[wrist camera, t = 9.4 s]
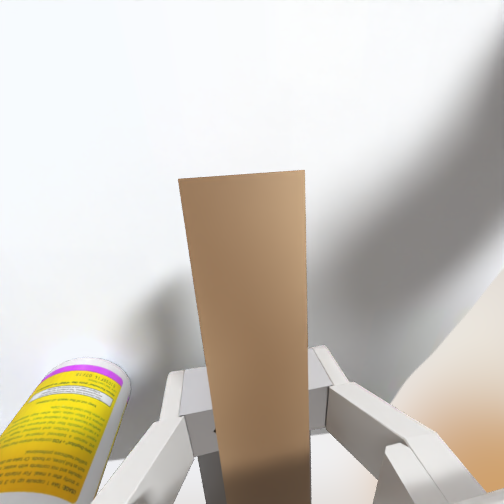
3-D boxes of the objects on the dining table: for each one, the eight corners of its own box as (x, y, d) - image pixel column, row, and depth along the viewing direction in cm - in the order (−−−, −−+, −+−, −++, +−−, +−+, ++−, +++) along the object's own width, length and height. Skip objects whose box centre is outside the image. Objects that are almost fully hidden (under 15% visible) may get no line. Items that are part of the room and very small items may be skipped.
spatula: (297, 176, 9) (366, 165, 5) (305, 487, 13) (345, 614, 9) (154, 187, 8) (100, 184, 4) (211, 512, 12) (211, 660, 8)
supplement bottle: (35, 358, 19) (-264, 698, 7) (125, 348, 20) (-1, 628, 8) (59, 417, 21) (-131, 743, 9) (139, 405, 22) (59, 685, 10)
